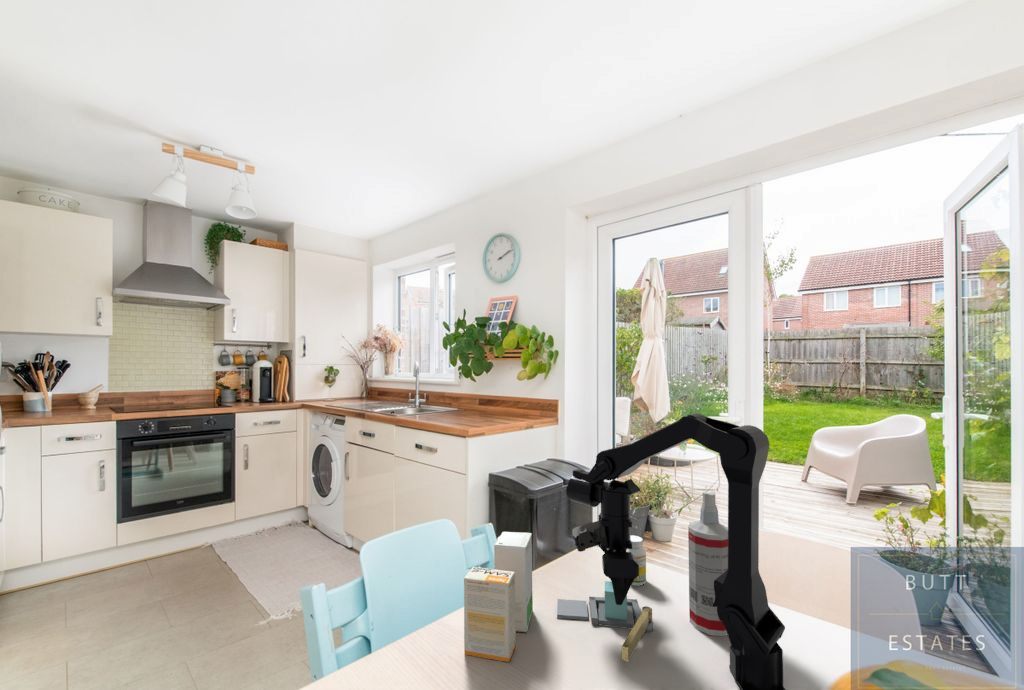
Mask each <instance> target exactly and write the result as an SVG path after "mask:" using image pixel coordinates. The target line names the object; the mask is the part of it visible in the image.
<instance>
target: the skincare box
mask: <svg viewBox="0 0 1024 690" xmlns="http://www.w3.org/2000/svg"><path fill="white" fill-rule="evenodd" d="M532 535H533V533H532V532H519V531H517V532H516V531H502V532H501V534H500V535H499V536H498V537H497V540H496V542H494V545H493V547H494V548H493V549H494V551H493V552H494V553H493V554H494V555H493V557H494V559H493V560H494V561H493V563H494V565H493V566H494V569H495V570H503V571H512V572H515V632H520V633H527V631H528V628H529V624H530V621H531V619H532V618H531V617H532V615H533V604H534V603H533V602H534V601H533V598H534V597H533V552H532V551H533V545H532V543H533V542H532Z"/></svg>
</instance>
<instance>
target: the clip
mask: <svg viewBox="0 0 1024 690" xmlns="http://www.w3.org/2000/svg"><path fill="white" fill-rule="evenodd" d="M652 622H653V609H652V607H650V606H647V605H645V606H642V607H641V615H640V617H639V618H638V620H637V622H636V621H635V622H634V627H633V628H632V629H631V630H630V632H629V633H628V635H627V637H626V639H625V641H624V642H623V643H622V645H621V660H622V661H624V662H628V663H629V661H630V659H631V657H632V656H633V654H634V651H635V650H636V648H637V646H638V645H639V642H640V641H641V639H642V637H643V635H644V633H645V632H646V631H645V630H646V628H647V626H648V624H650V623H652Z"/></svg>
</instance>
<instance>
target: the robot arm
mask: <svg viewBox="0 0 1024 690" xmlns="http://www.w3.org/2000/svg"><path fill="white" fill-rule="evenodd" d="M690 440H693V441H695V442H697V443H698V444H701V445H702V446H703V447H704V448H707V449H708V450H711V451H713V452H715V453H719V460H720V461H719V462H720V465H721V469H722V471H723V473H724V476H725V477H726V481H727V486H728V488H727V491H728V492H727V500H728V501H727V527H728V569H727V570H726V571H725V572H724V573H723V574H721V575H720V576H719V577H718V578H717V579H715V580H714V591H715V601H714V603H713V607H717V615H718V618H719V620H720V621H721V622H722V623H723V625H724V626H725V628H726V631H727V634H728V635H727V636H728V639H729V640H728V641H729V643H730V646H729V665H728V666H729V672H730V674H731V676H732V678H733V679H734V681H735V682H736V683H737V684H738V687H739V688H740V690H786V688H785V687H784V660H783V659H784V658H783V657H784V656H783V655H784V654H783V653H784V652H783V651H784V650H783V648H782V647H781V646H780V644H779V643H778V641H779V640H780V639H781V638H782V636H783V634H784V631H785V629H786V626H785V625H784V623H783V622H782V621H781V620H780V619H779V617H778V616H777V615H776V613H775V612H774V611H773V609H772V608H771V607H770V606H769V602H768V596H767V589H766V586H765V583H764V581H763V578H762V576H761V574H760V570H759V569H760V568H759V558H760V557H759V553H760V552H759V549H760V548H759V545H760V544H759V542H760V541H759V537H760V536H759V534H760V533H759V532H760V531H759V530H760V529H759V526H760V525H759V524H760V523H759V522H760V513H759V512H760V511H759V510H760V508H759V507H760V498H759V497H760V494H759V493H760V482H761V480H762V479H761V478H762V476H763V473H764V470H765V467H766V465H767V462H768V461H767V459H768V455H769V451H770V441H769V440H770V439H769V437H768V435H767V434H766V433H765V432H764V431H763V430H762V429H760V428H759V427H757V426H755V425H751V424H750V425H747V424H746V425H741V426H740V425H736V424H734V423H732V422H727V421H723V420H719V419H716V418H712V417H708V416H705V415H704V414H702V413H691V414H686V415H683V416H681V417H680V419H678V420H676V421H674V422H672V423H670V424H668V425H666V426H664V427H662V428H660V429H658V430H655V431H654V432H651V433H650V434H648V435H646V436H644V437H642V438H640V439H638V440H636V441H634V442H632V443H628V444H625V445H621V446H617V447H612V448H609V449H605V450H602V451H600V452H598V453H597V455H596V456H595V457H596V459H595V464H594V465H593V466H592V468H591V469H590V471H586V470H584V469H580V468H578V469H574V470H572V476H571V477H570V478H569V480H568V483H567V486H566V488H565V489H566V491H565V492H566V496H567V498H568V500H570V501H571V502H574V503H577V504H582V505H585V506H588V507H593V508H596V507H598V506H599V505H600V513H599V514H598V520H596V521H593V522H587V523H585V524H581V525H579V526H575V527H574V528H573V529H572V530H571V531H572V532H571V533H572V538H573V541H574V543H575V547H576V549H577V551H578V552H584V551H586V550H588V549H590V548H593V547H596V546H597V547H599V548H600V550H601V551H602V552H603V553H604V554H602V556H601V559H602V560H601V561H602V570H603V574H604V575H605V577H607V578H609V580H610V582H612V586H613V591H614V597H615V602H616V605H622V603H623V601H624V599H625V597H626V595H627V596H628V593H629V591H630V589H631V586H633V585H632V583H633V581H634V579H635V578H637V576H639V564H638V562H637V559H636V557H635V556H634V555H633V554H632V553H631V552H626V550H627V549H632V542H631V540H630V535H631V528H632V527H633V523H632V522H633V521H632V519H631V496H632V495H634V494H636V493H639V492H640V491H641V487H639V486H638V485H637V483H635V482H634V480H633V479H631V478H630V479H627V480H624V481H621V480H616V479H619V478H622V477H626V476H629V475H630V474H632V473H633V472H635V471H636V470H638V469H639V468H640V467H641V466H642V465H643V464H644V463H645V462H646V461H648V460H649V459H651V458H653V457H655V456H658V455H660V454H662V453H665V452H667V451H668V450H671V449H673V448H674V447H677V446H680V445H681V444H684V443H686V442H688V441H690ZM608 481H609V482H608Z"/></svg>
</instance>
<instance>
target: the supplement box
mask: <svg viewBox="0 0 1024 690" xmlns="http://www.w3.org/2000/svg"><path fill="white" fill-rule="evenodd" d="M463 577H464V578H463V607H464V608H463V613H464V614H463V617H464V618H463V622H464V623H463V624H464V625H463V626H464V627H463V630H464V631H463V633H464V634H463V635H464V636H463V641H464V645H463V646H464V649H463V650H464V652H463V653H464V655H466V656H473V657H476V658H477V657H478V658H484V659H490V660H495V661H500V662H507V663H508V662H509V663H510V661H511V657H512V655H513V653H514V650H515V648H516V645H517V644H516V631H515V572H512V571H503V570H495V569H493V568H487V567H486V568H485V567H479V566H477V567H476V566H472V568H471V569H470V570H469V571H468V572H467V574H466V575H465V576H463Z"/></svg>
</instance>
